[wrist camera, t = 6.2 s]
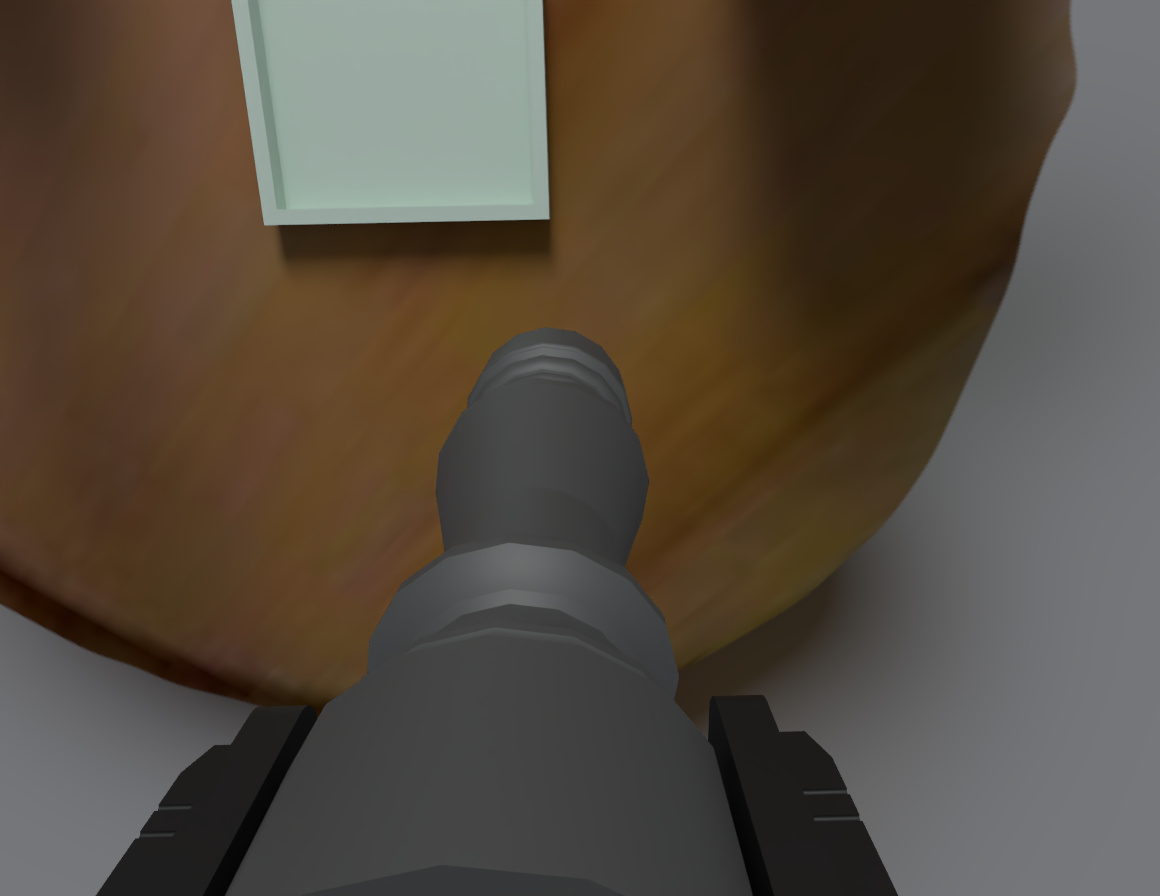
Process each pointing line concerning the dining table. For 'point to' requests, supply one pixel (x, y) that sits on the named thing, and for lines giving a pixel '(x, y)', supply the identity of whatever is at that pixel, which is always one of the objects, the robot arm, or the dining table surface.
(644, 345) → the dining table surface
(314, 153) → the tray
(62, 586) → the dining table surface
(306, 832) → the candle holder
